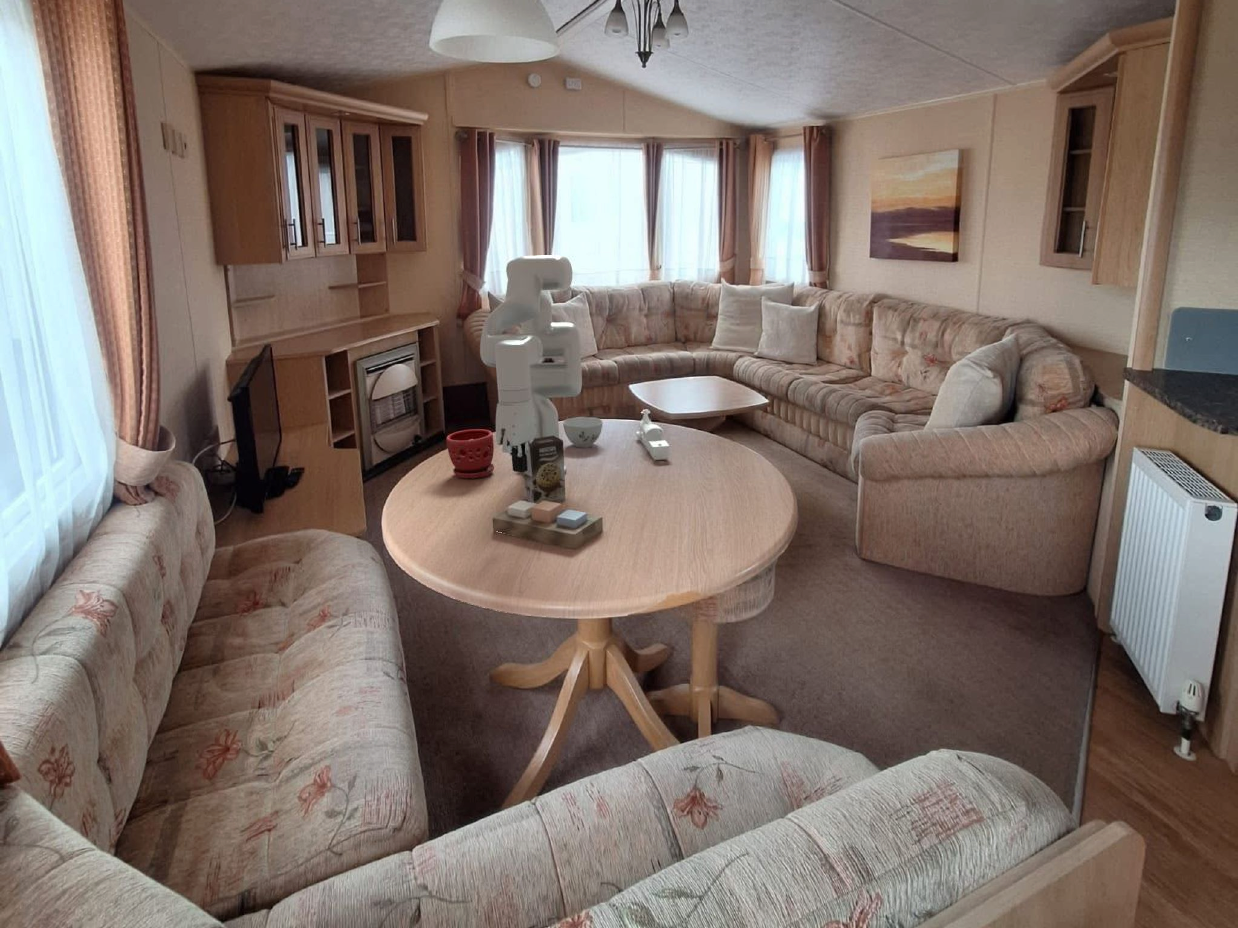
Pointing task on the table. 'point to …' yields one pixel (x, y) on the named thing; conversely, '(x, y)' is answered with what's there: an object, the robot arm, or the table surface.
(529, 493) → the coffee box
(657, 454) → the toy train
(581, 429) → the teacup
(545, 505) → the key terracotta
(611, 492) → the table surface
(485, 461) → the plant pot
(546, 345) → the robot arm
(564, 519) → the key blue
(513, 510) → the key white
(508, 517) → the key panel
